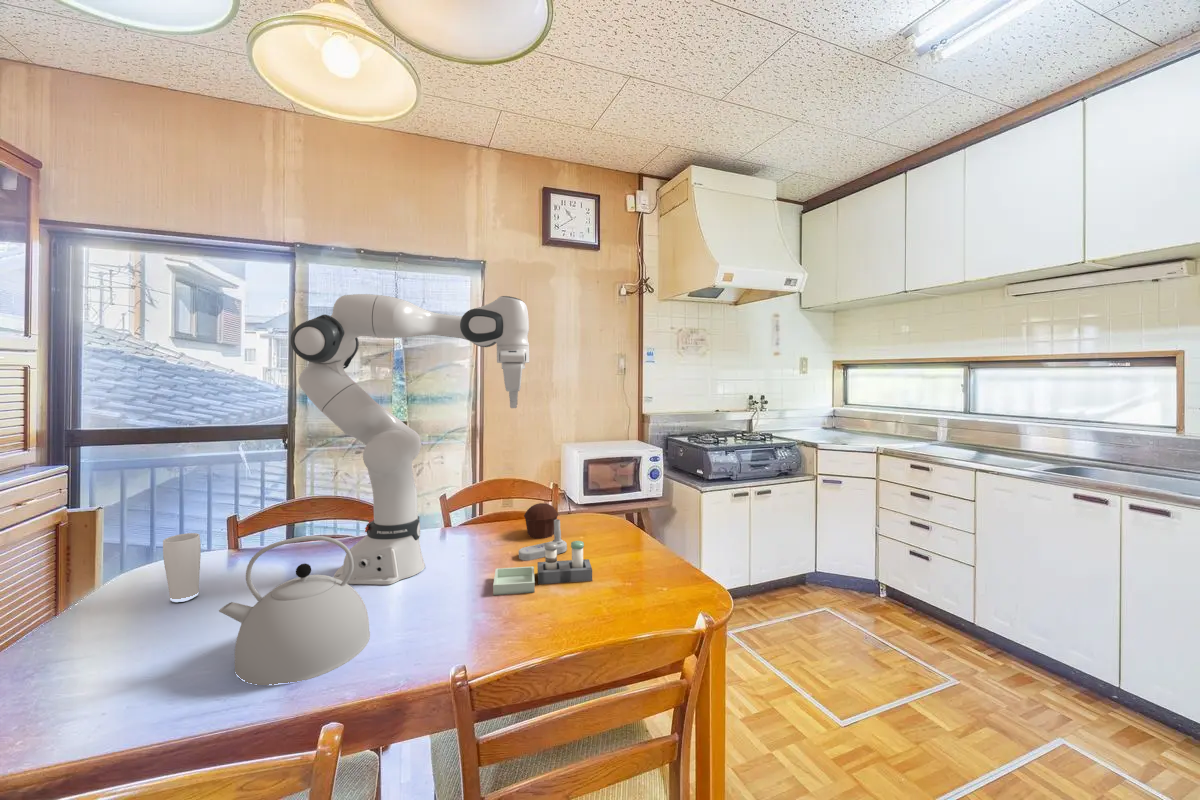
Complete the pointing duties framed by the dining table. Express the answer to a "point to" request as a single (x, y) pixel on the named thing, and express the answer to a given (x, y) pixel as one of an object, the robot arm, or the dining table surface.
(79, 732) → the dining table surface
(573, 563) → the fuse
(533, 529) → the muffin
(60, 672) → the dining table surface
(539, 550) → the electronic device
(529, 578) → the parts tray
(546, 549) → the cylinder
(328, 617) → the kettle
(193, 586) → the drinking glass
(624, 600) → the dining table surface
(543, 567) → the socket block
